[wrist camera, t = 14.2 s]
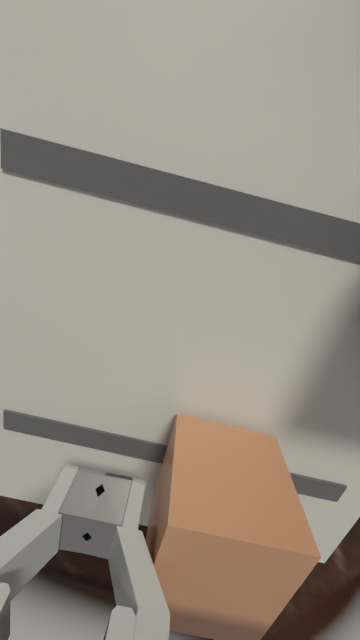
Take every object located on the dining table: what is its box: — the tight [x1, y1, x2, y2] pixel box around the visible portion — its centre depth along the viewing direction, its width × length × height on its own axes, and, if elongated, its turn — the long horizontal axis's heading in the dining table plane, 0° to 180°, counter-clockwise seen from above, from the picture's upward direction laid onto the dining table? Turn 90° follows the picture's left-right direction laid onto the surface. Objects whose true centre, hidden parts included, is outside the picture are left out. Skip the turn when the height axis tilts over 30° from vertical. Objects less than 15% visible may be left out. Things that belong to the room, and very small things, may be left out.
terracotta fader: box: [146, 414, 321, 640], centre depth 9 cm, size 4×5×4 cm
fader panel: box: [0, 0, 360, 563], centre depth 11 cm, size 20×20×2 cm
